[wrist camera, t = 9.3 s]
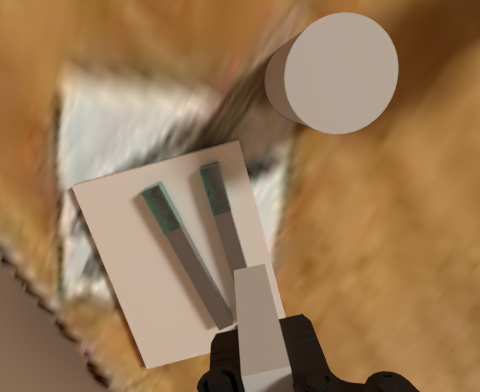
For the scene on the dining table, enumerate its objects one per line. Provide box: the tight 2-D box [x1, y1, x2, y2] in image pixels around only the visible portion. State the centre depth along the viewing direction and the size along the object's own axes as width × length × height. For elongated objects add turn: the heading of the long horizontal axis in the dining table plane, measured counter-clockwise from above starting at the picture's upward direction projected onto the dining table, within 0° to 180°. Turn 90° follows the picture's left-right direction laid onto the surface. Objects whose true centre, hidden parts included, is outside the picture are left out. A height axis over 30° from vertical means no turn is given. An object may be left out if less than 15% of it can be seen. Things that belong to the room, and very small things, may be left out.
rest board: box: [72, 139, 286, 369], centre depth 41 cm, size 24×18×1 cm
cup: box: [265, 13, 398, 134], centre depth 31 cm, size 8×8×12 cm
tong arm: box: [141, 181, 234, 330], centre depth 39 cm, size 18×2×2 cm, turn 25°
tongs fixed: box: [199, 161, 248, 329], centre depth 40 cm, size 22×4×4 cm, turn 15°
